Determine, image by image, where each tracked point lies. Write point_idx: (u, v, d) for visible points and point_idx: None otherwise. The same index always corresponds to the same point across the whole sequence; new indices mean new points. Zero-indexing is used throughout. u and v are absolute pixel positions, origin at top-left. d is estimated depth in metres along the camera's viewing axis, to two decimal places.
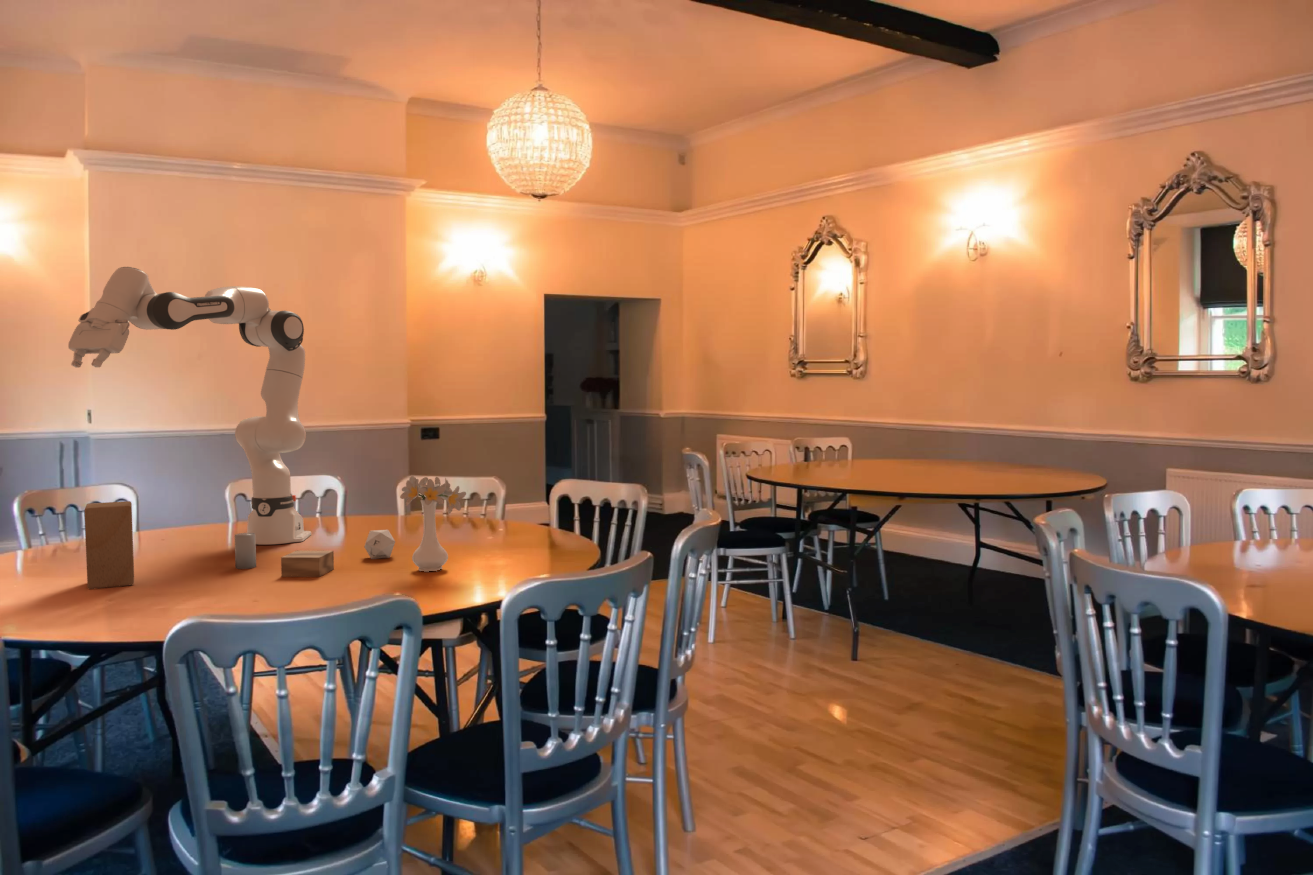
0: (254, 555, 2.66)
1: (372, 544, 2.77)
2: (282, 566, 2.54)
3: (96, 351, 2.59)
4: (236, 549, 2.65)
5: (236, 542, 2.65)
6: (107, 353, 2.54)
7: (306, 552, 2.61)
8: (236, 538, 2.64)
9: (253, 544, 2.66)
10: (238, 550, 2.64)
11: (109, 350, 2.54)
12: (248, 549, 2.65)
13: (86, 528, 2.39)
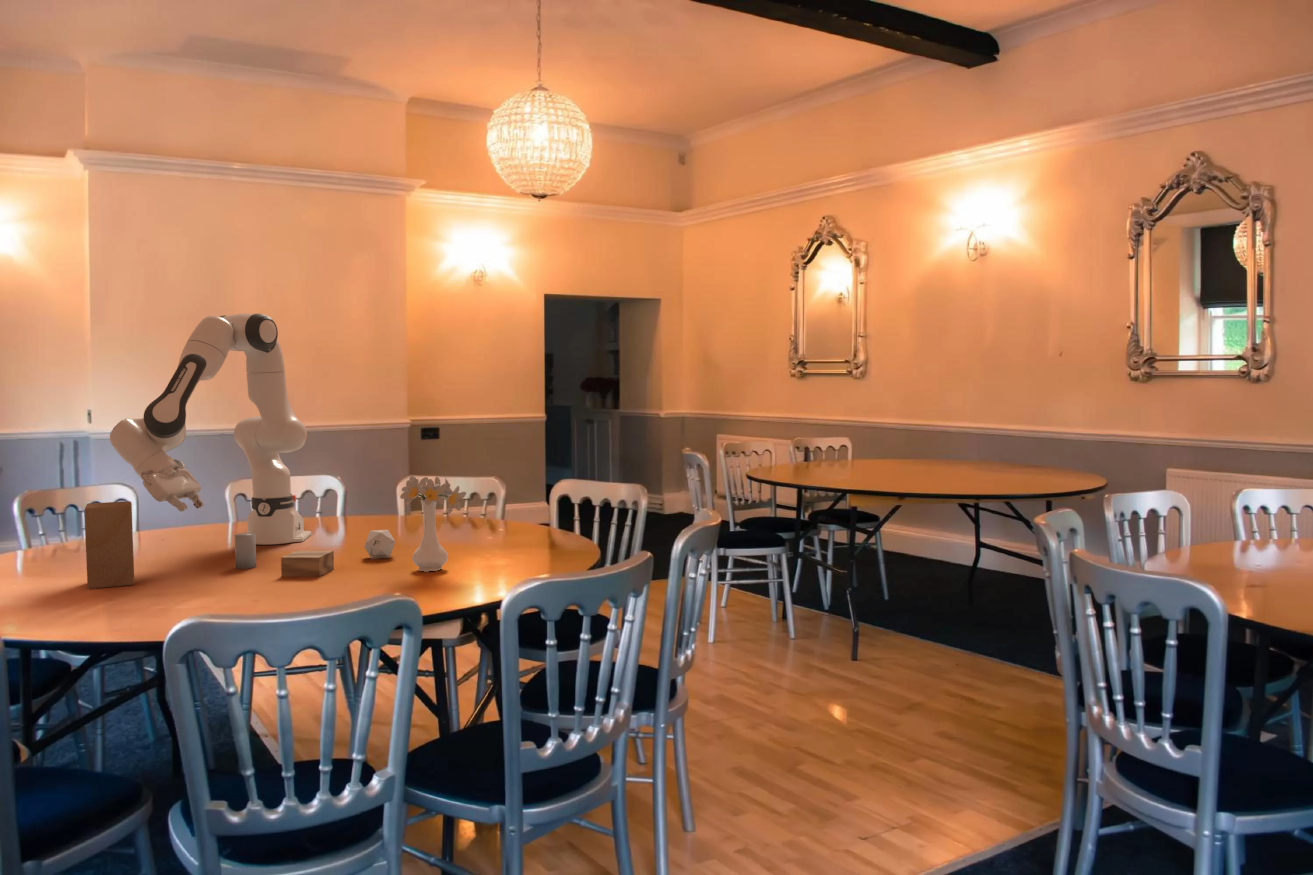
0: (254, 555, 2.66)
1: (372, 544, 2.77)
2: (282, 566, 2.54)
3: None
4: (236, 549, 2.65)
5: (236, 542, 2.65)
6: (172, 498, 2.59)
7: (306, 552, 2.61)
8: (236, 538, 2.64)
9: (253, 544, 2.66)
10: (238, 550, 2.64)
11: (167, 497, 2.58)
12: (248, 549, 2.65)
13: (86, 528, 2.39)
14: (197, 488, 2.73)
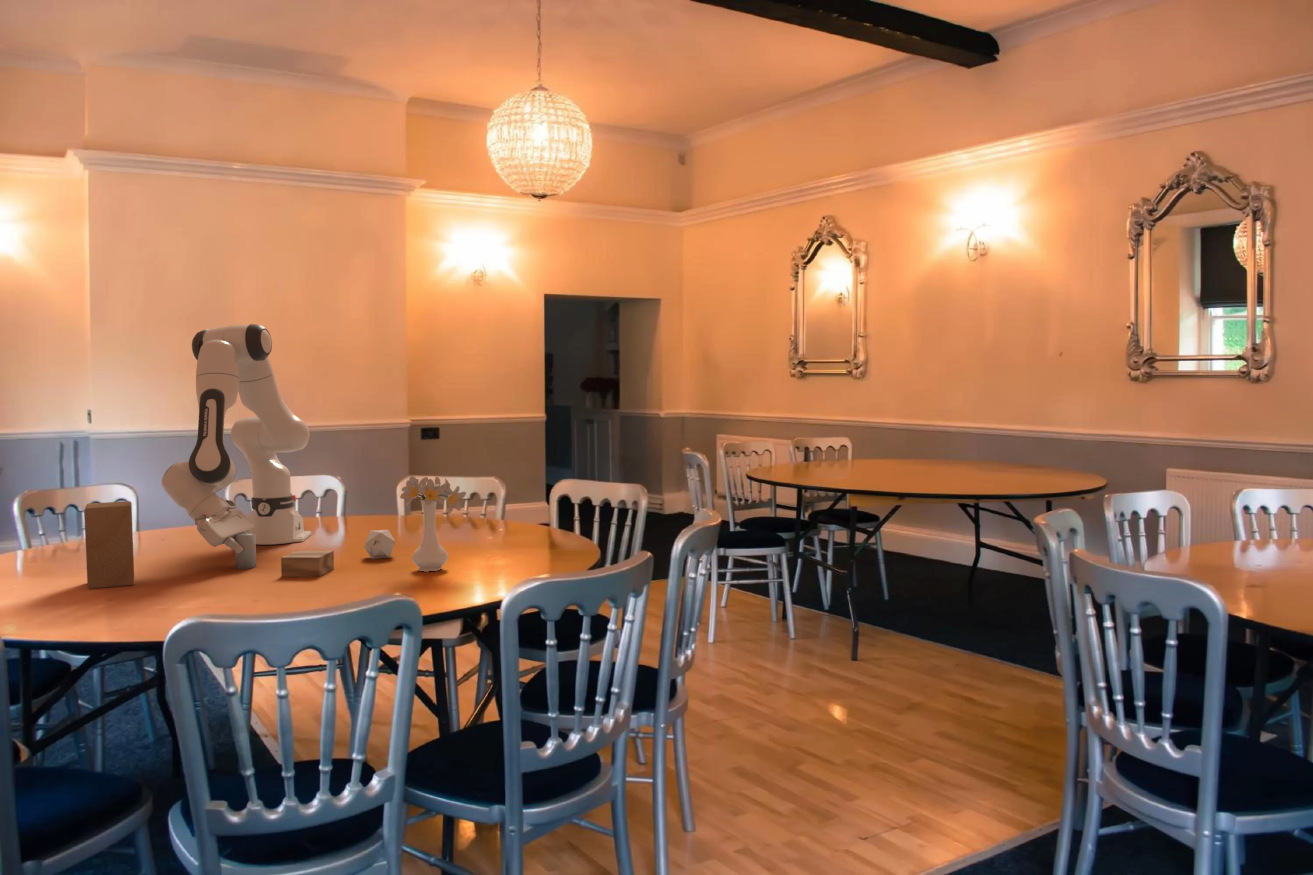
0: (254, 555, 2.66)
1: (372, 544, 2.77)
2: (282, 566, 2.54)
3: None
4: None
5: None
6: (229, 541, 2.62)
7: (306, 552, 2.61)
8: (236, 538, 2.64)
9: (253, 544, 2.66)
10: None
11: (221, 542, 2.59)
12: (248, 549, 2.65)
13: (86, 528, 2.39)
14: (250, 527, 2.74)
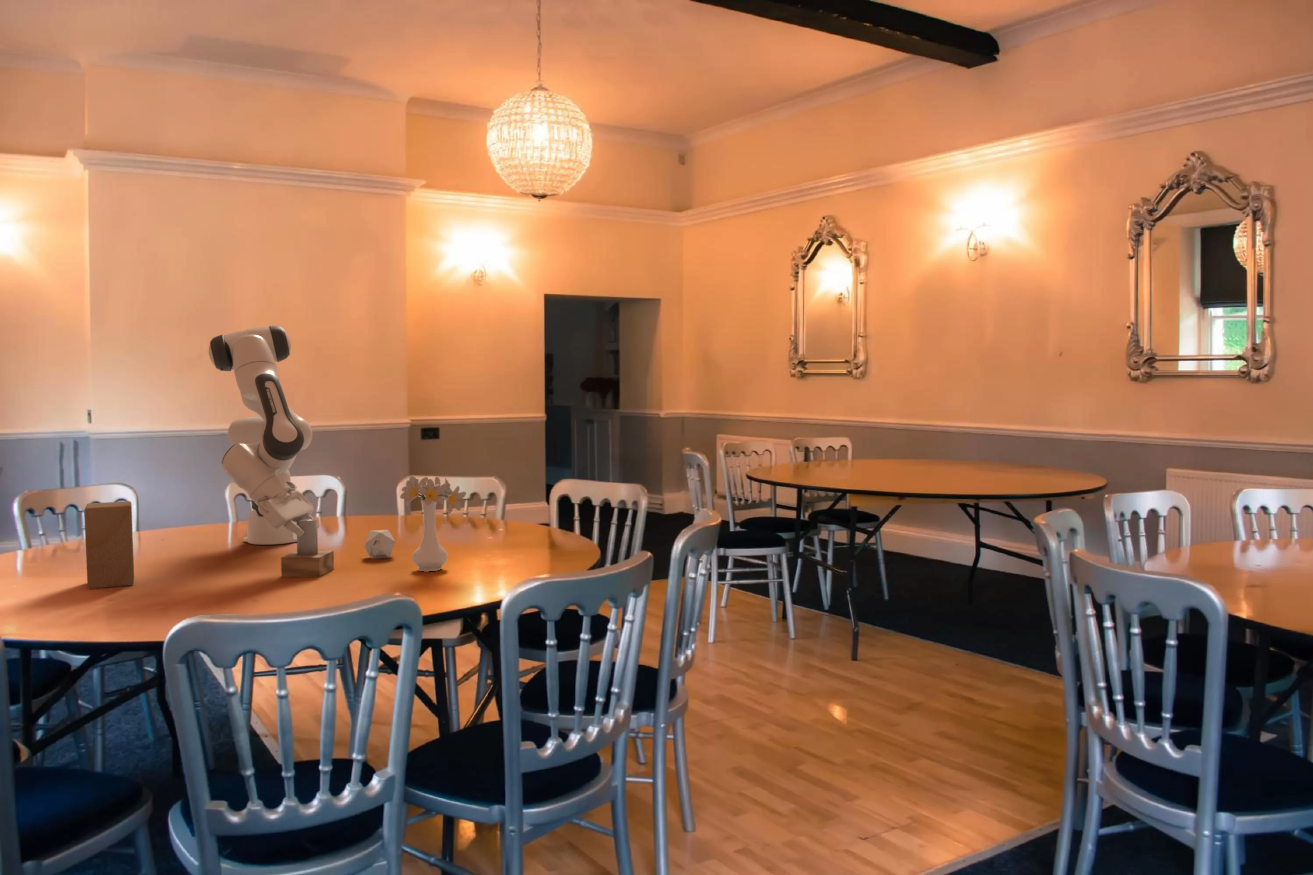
0: (316, 541, 2.58)
1: (372, 544, 2.77)
2: (282, 566, 2.54)
3: None
4: None
5: None
6: (289, 524, 2.52)
7: None
8: (298, 524, 2.56)
9: (315, 530, 2.58)
10: (300, 536, 2.56)
11: (284, 524, 2.51)
12: (310, 535, 2.57)
13: (86, 528, 2.39)
14: (311, 509, 2.65)
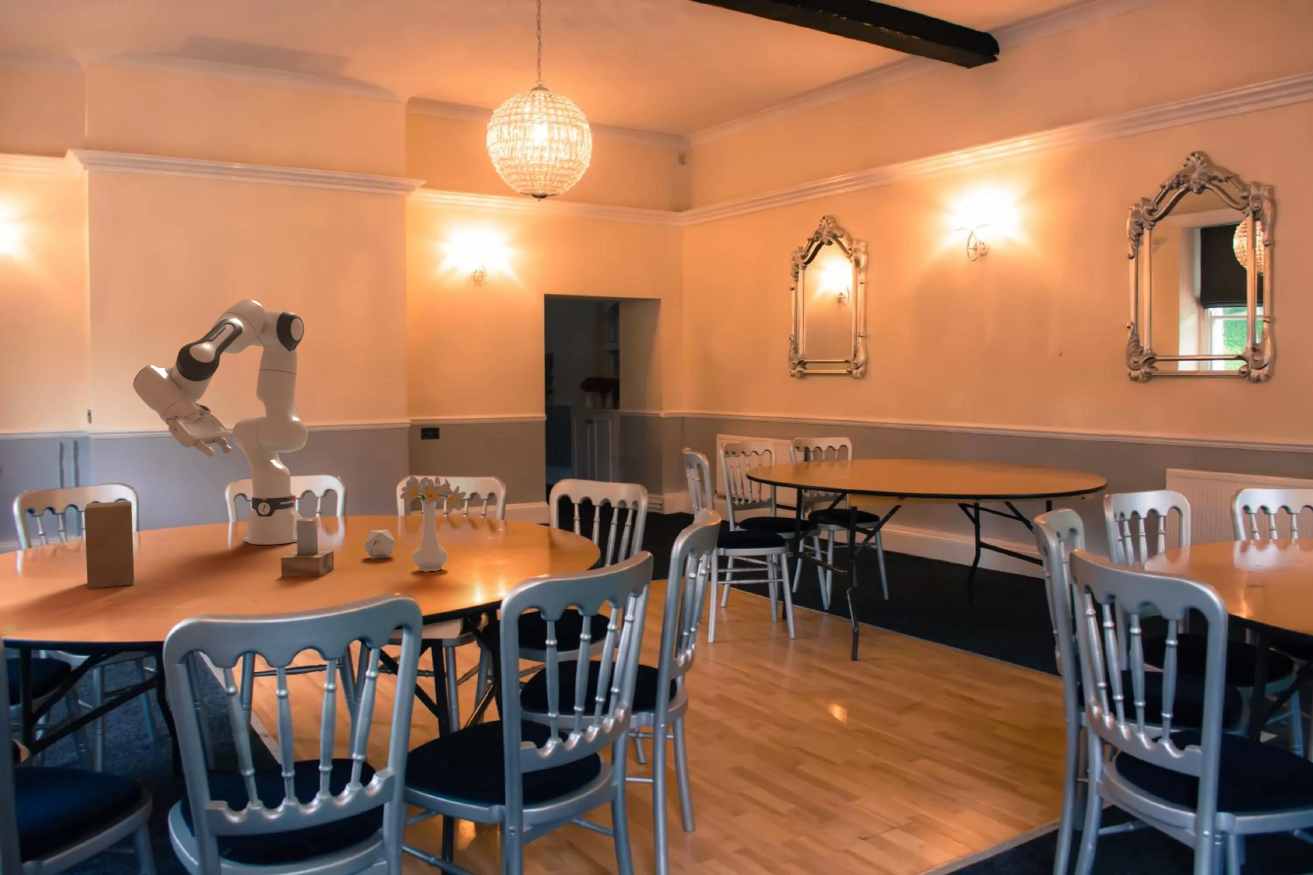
0: (316, 541, 2.58)
1: (372, 544, 2.77)
2: (282, 566, 2.54)
3: None
4: (298, 535, 2.57)
5: (298, 528, 2.56)
6: (199, 443, 2.54)
7: None
8: (298, 524, 2.56)
9: (315, 530, 2.58)
10: (300, 536, 2.56)
11: (193, 443, 2.52)
12: (310, 535, 2.57)
13: (86, 528, 2.39)
14: (225, 433, 2.67)
